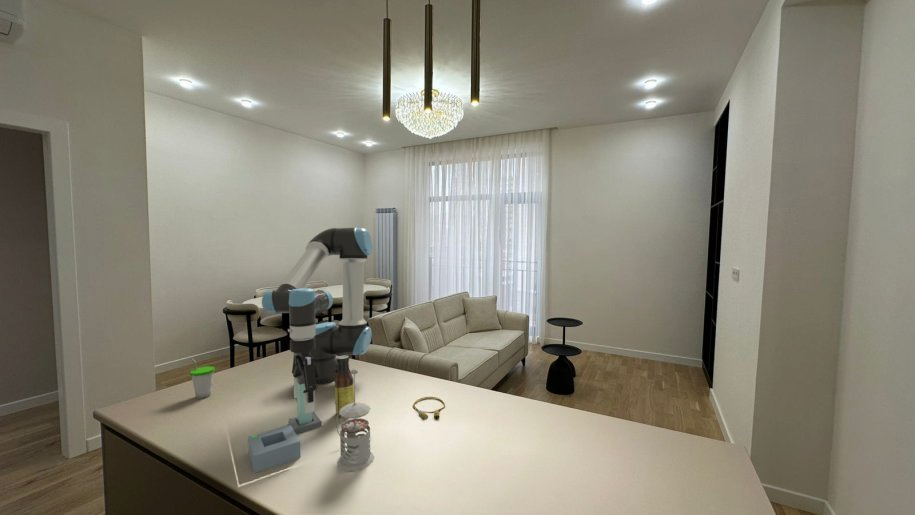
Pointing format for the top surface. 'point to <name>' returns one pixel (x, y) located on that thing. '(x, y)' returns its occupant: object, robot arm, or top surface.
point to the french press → (354, 436)
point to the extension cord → (424, 415)
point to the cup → (202, 380)
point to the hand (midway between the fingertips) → (304, 404)
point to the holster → (304, 427)
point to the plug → (302, 403)
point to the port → (273, 448)
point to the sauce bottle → (343, 384)
